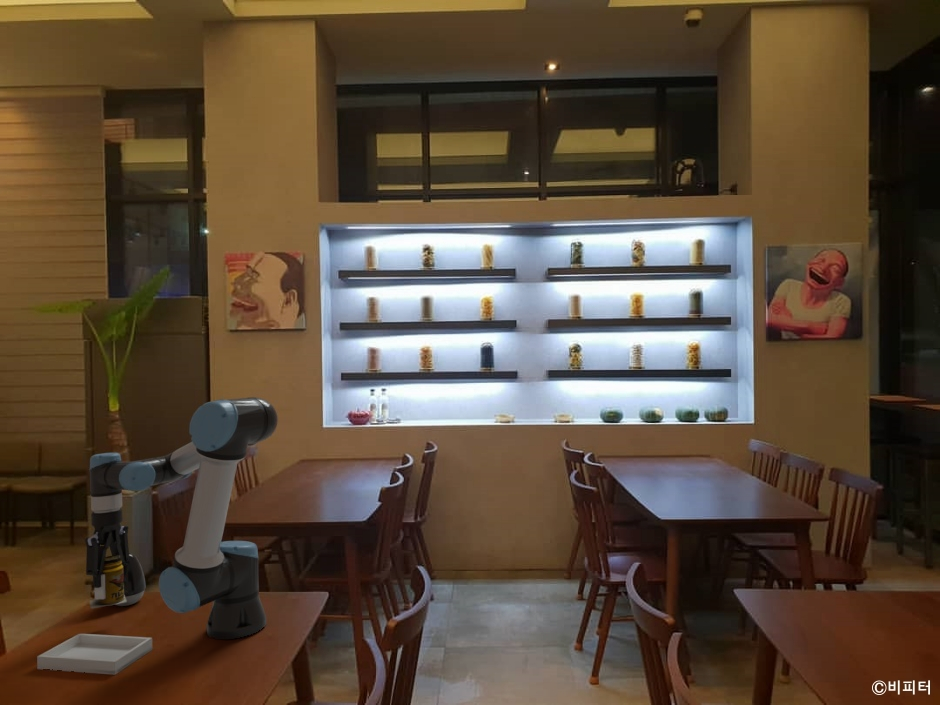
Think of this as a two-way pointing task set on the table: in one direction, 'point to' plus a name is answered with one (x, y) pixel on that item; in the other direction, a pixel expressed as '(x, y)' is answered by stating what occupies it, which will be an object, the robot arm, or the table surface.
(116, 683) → the table surface
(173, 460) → the robot arm
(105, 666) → the white tray
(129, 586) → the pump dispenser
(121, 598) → the condiment
